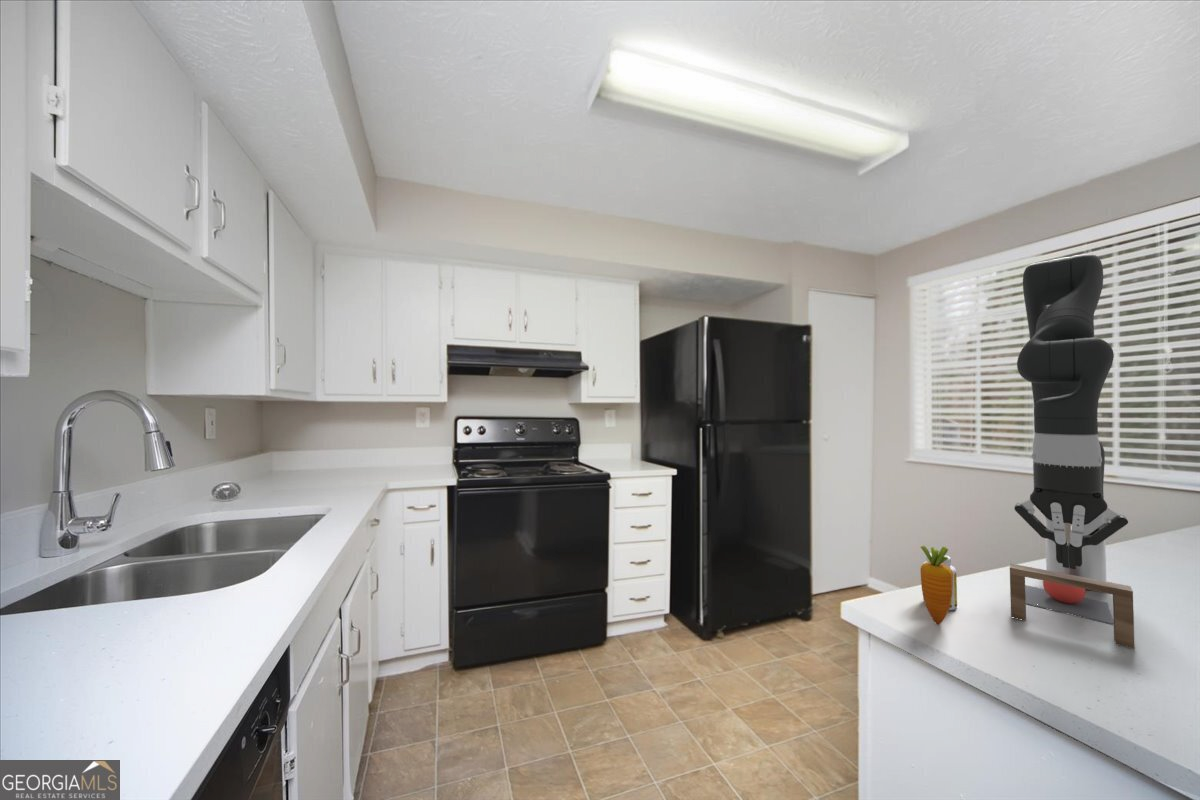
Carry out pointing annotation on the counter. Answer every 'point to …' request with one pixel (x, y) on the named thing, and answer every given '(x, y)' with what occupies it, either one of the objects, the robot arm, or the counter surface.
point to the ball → (1064, 592)
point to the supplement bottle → (954, 591)
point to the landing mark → (1070, 605)
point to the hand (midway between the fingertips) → (1068, 566)
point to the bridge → (1121, 593)
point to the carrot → (936, 584)
